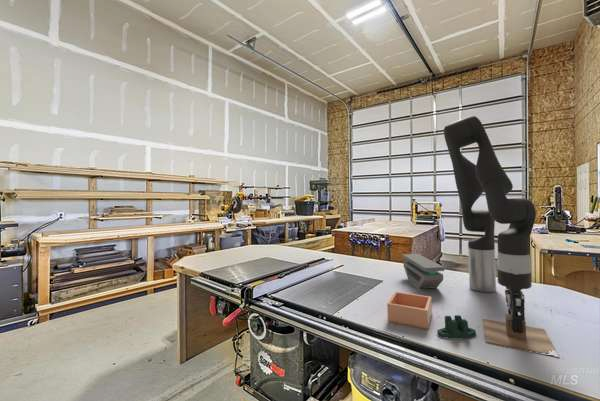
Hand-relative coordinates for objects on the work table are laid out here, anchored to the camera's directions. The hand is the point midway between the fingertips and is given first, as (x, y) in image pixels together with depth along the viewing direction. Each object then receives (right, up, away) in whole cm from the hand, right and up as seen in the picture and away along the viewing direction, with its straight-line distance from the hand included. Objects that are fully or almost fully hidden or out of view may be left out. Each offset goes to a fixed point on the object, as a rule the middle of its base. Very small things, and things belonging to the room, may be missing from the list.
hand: (515, 326), depth 76 cm
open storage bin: (-24, -4, +14) cm, 28 cm away
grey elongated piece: (-6, -2, +46) cm, 46 cm away
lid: (0, -3, 0) cm, 3 cm away
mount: (-15, -4, +2) cm, 16 cm away
